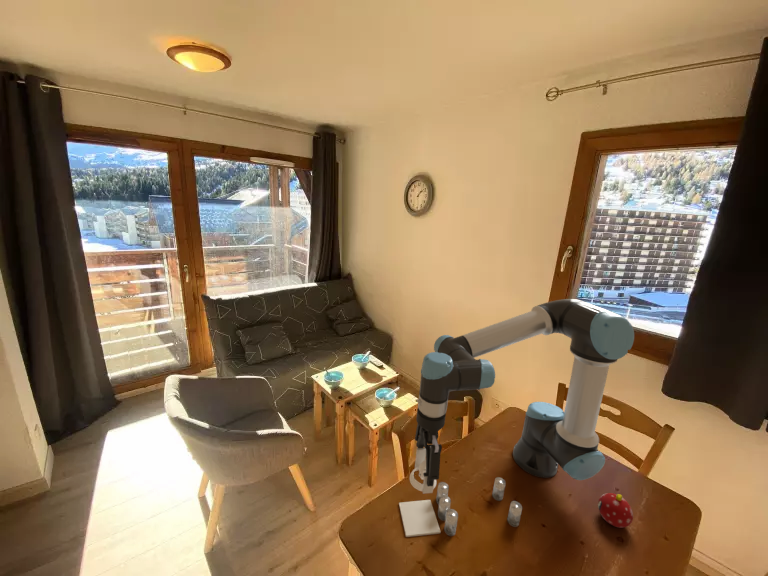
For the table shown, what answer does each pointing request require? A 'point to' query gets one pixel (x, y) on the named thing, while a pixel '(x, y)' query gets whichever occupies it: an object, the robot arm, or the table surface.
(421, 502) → the felt pad
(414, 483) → the hook
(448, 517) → the cylinder
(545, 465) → the robot arm
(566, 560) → the table surface
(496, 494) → the cylinder
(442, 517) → the spacer
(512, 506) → the cylinder
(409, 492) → the table surface
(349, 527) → the table surface
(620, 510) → the christmas ornament
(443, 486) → the cylinder
